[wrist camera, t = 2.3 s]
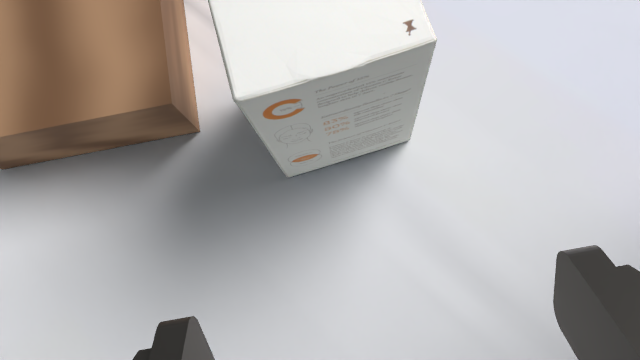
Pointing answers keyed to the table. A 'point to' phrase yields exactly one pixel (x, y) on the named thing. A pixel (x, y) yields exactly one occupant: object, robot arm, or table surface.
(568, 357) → the table surface
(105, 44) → the podium
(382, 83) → the small box
